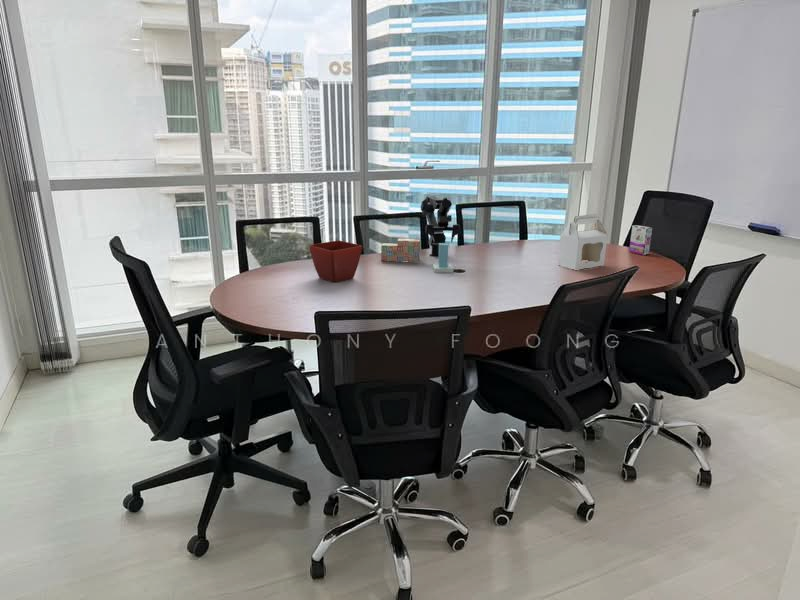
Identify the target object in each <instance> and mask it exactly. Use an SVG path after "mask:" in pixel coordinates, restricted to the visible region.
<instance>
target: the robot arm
mask: <svg viewBox="0 0 800 600" xmlns="http://www.w3.org/2000/svg"><path fill="white" fill-rule="evenodd" d="M452 205H453V203H452V201H451V200H449V199H448V198H447V197H443V198H438V197H437V196H436V195H427V196H426V197H425V199H424V200H422V201H421V204H420V211H421V213H422V215H423V216H425V217H426V220H427V222H428V223H427V224H426V226H425V234H427V235H429V236H430V237H429V238H428V245H429V246H431V253H430V254H429V256H430V257H438V256H439V243H446V239H447V237H446V235H445V232H451V237H450V238H451V240H450V241H451V242H450V243H453V241H454V238H455V236H458V235H460V231H461V225H460V224H452V226H449V223H452V221H453V220H452V218H453V217H452V214H451V215H450V214H448V213H449V212H450V210H451V207H452ZM435 211H436V212H437V213H436V215H437V217H436V216H435Z"/></svg>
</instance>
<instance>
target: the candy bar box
mask: <svg viewBox="0 0 800 600" xmlns="http://www.w3.org/2000/svg"><path fill="white" fill-rule="evenodd" d="M652 235H653V227H650V226H644V225H638V224H637V225H636V224H635V225H632V226H631V234H630V241H629V248H628V252H629V251H630V252H629V253H631V252H633V253H632V254H635V253H638V254H637V255H640V254H642V255H641V256H647V255H646V254H650V247H651V240H652Z"/></svg>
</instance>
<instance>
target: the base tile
mask: <svg viewBox="0 0 800 600" xmlns="http://www.w3.org/2000/svg"><path fill="white" fill-rule="evenodd" d="M432 270H433V272H434V273H454V267H453V264H452V263H448V267H439V266H438V263H432Z"/></svg>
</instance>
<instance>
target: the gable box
mask: <svg viewBox="0 0 800 600" xmlns="http://www.w3.org/2000/svg"><path fill="white" fill-rule="evenodd" d="M599 218H600V216H598V215H597V214H595V213H594V214H587V215H586V214H583V215H576V216H574V219H573V221H570V223H569V224H568V225H567V226H566V227H565V228H564V230H563V231H562V232H561V234H560V236H559V245H558V246H559V247H558V256H557V257H558V258H557V266H558V265H561V266H565V267H568V268H571V269H575V270H576V269H582V268H588V267H594V266H600V265H604V264H605V259H606V257H605V256H606V249H607V241H608V234H607V232H606V230H605V228H604V227H603V224H602V223H601V221H600V219H599ZM584 224H585V225H586V224H587V225H588V224H589V225H590V224H591V226H590V228H589V229H587V230H581V231H578V228H577V226H579V225H584ZM582 260H588V261H589V262H586V263H585V264H582V263H581V261H582ZM561 266H560V267H561ZM604 266H605V265H604ZM571 269H570V270H571Z"/></svg>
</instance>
